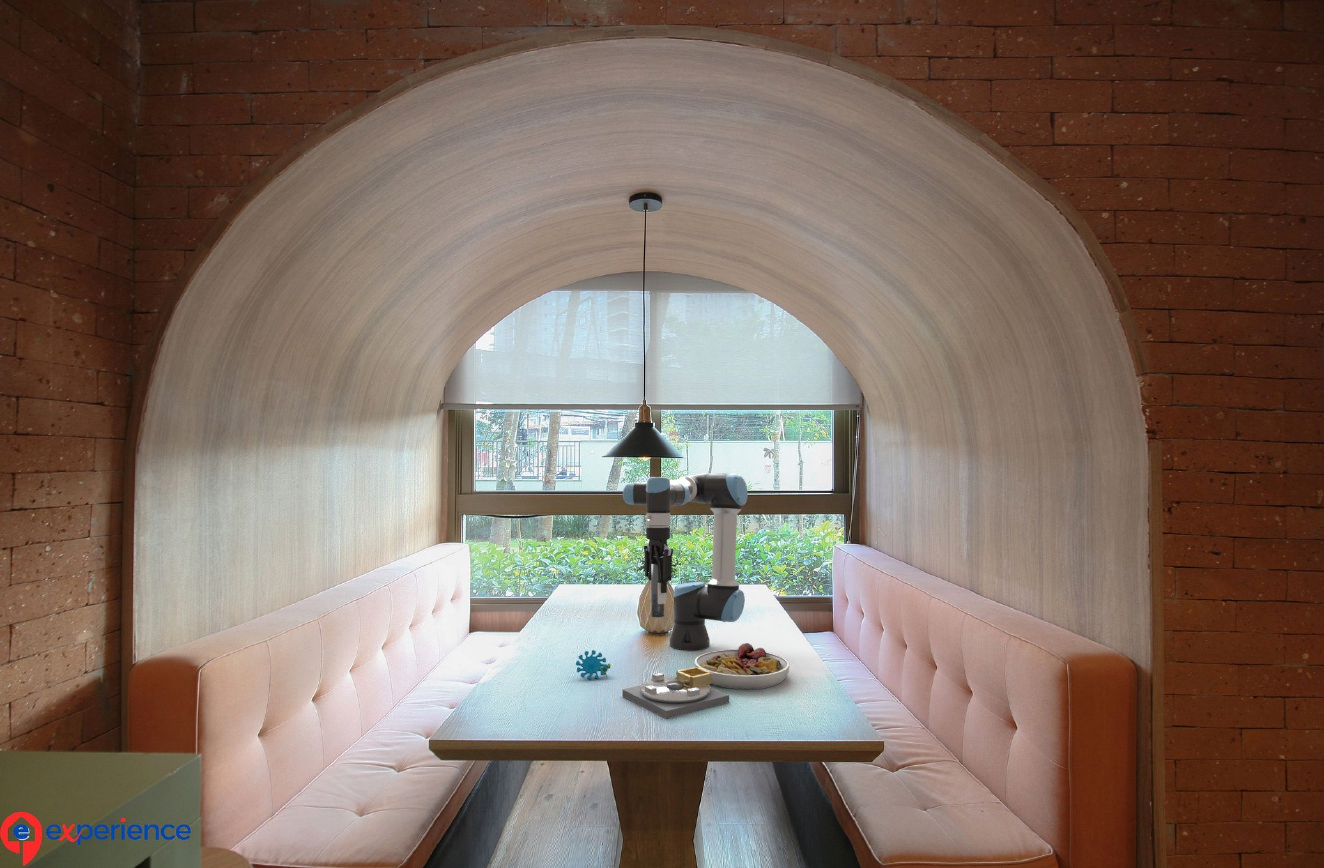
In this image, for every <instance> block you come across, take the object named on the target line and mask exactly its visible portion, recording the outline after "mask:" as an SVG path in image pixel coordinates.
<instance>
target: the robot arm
mask: <svg viewBox="0 0 1324 868" xmlns="http://www.w3.org/2000/svg"><path fill="white" fill-rule="evenodd" d="M748 495H749V493H748V486H747V483H746V481H745V479H744V478H743V476H742V475H741V474H738V473H733V472H732V473H731V472H729V473H728V472H727V473H725V472H724V473H723V472H722V473H721V472H720V473H715V472H714V473H699V474H693V475H688V476H681V477H679V478H678V479H672V480H671V479H670V477H666V476H664V477H663V476H657V477H656V476H649V477H648V478H647V479H646V481H645V482H628V483H625V485H624V487H623V490H622V498H623V501H624V503H625V504H626V505H630V506H646V509H645V512H646V515H645V516H646V517H645V519H646V521H645V522H646V523H645V524H646V526H647V527H646V528H645V538H646V539H647V540H649V541H648V544H646V545H643V552H644V577H645V578H647V579H648V581H649V582H648V584H649V602H650V603H651V564H653V563H658V571H659V581H658V604H664V605H665V604H667V593H668V591H667V590H668V583H669V582H670V581H672V575H673V574H672V573H673V572H672V571H673V570H672V569H673V566H672V565H673V554H674V549H673V548H670V547H669V545H668V540H670V539H671V527H669V526H671V507H681V506H684V505H686V504H687V503H697V504H704V505H710V506H709V509H710V511H712V513H713V533H712V536H713V537H712V562H711V563H712V565H711V579H709V580H708V582H707V584H706V583H705V582H704V581H694V582H693V581H690V582H685V583H680V584H677V585H675V587H674V589H673V627H672V630H671V634H670V637H669V647H671V648H673V649H677V650H683V651H699V650H705V649H708V648H709V647H710V645H711V644H710V642H711V641H710V640H711V639H710V637H709V633H708V630H707V627H706V622H705V621H706V620H710V621H718V622H723V623H735V622H736V621H738V620H739V619H740V617H741V615H742V614H743V611H744V607H745V599H746V598H745V597H746V596H745V593H744V591H742V590H741V589H740V584H739V583H738V582H737V581H736V564H737V563H736V561H737V560H736V559H737V525H738V523H737V521H738V520H737V519H738V514H739V513H740V512H741V511H742V506H745V504H746V503H747V502H748Z"/></svg>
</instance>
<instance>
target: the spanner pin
mask: <svg viewBox="0 0 1324 868" xmlns="http://www.w3.org/2000/svg"><path fill="white" fill-rule="evenodd" d="M658 581H659V571H658V563H653V564H651V602H650V604H651V607H650V611H651V612H650V614H651V615H650V617H652V618H663V617H665V604H658Z"/></svg>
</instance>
